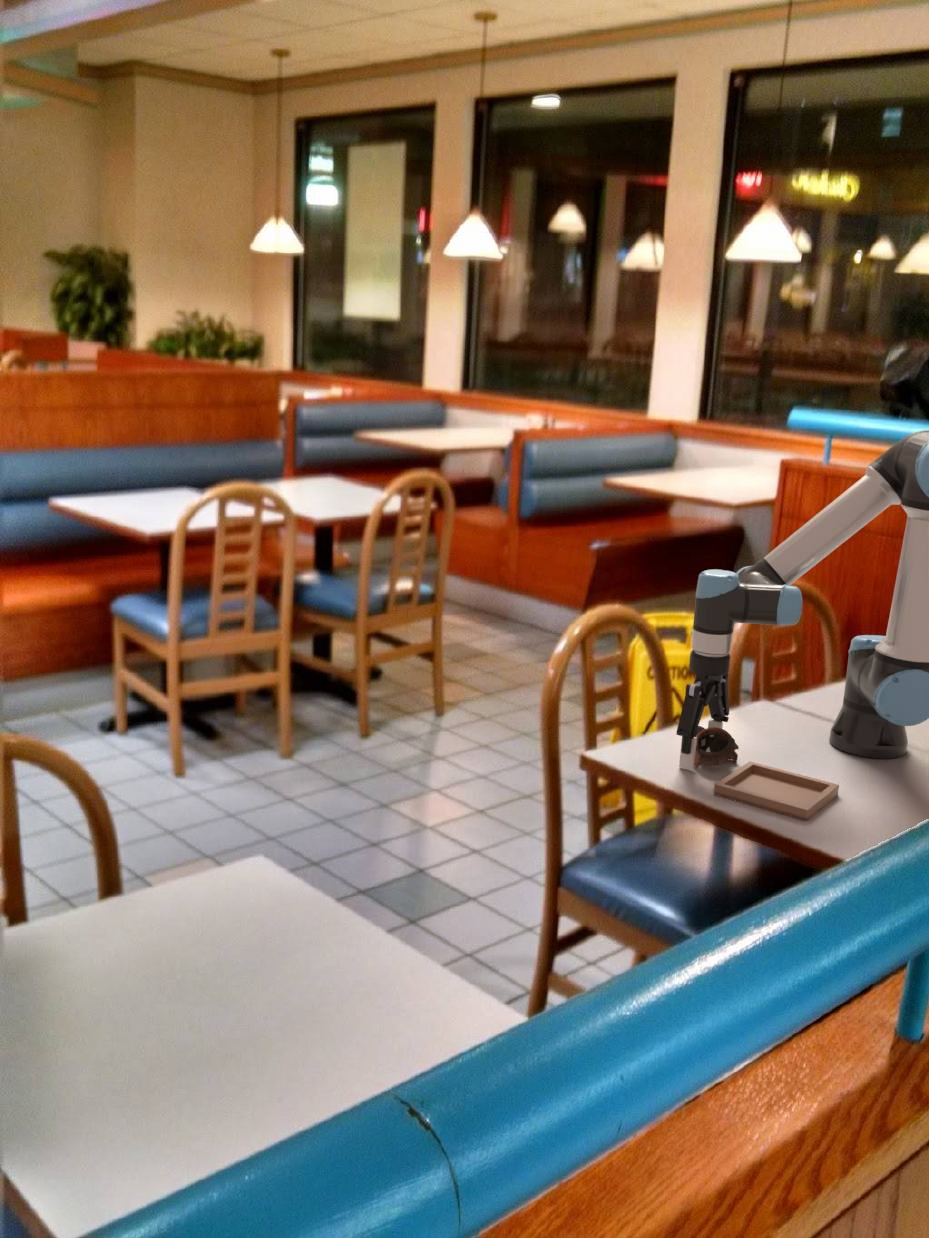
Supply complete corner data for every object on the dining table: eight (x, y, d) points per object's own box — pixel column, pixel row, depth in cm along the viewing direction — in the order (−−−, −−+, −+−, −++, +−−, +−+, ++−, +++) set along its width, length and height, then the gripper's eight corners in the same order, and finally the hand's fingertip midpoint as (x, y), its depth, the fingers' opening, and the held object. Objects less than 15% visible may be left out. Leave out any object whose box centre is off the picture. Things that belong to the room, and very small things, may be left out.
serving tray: (748, 771, 231) (749, 761, 231) (837, 795, 221) (839, 784, 221) (713, 794, 219) (714, 784, 219) (806, 821, 209) (807, 810, 209)
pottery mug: (751, 769, 234) (747, 740, 229) (712, 794, 231) (708, 766, 226) (710, 735, 243) (706, 706, 237) (673, 759, 240) (668, 731, 235)
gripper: (718, 636, 241) (708, 740, 246) (664, 659, 223) (654, 771, 228) (754, 643, 237) (742, 749, 242) (701, 668, 218) (690, 782, 224)
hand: (699, 760), depth 235 cm, fingers open, 11 cm apart
